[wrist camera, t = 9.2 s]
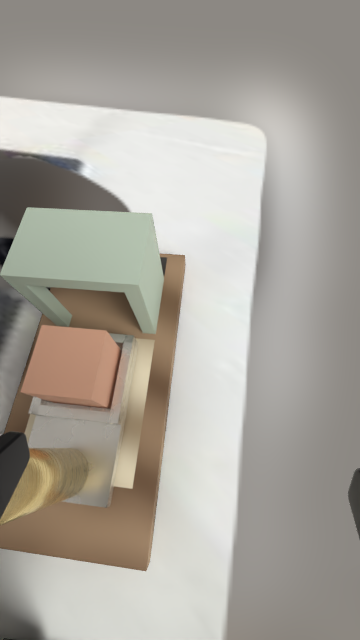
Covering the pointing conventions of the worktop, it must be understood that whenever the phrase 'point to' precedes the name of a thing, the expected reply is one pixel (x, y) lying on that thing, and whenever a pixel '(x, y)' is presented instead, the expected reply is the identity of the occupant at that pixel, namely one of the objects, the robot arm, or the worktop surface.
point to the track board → (136, 446)
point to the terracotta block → (73, 367)
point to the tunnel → (87, 260)
